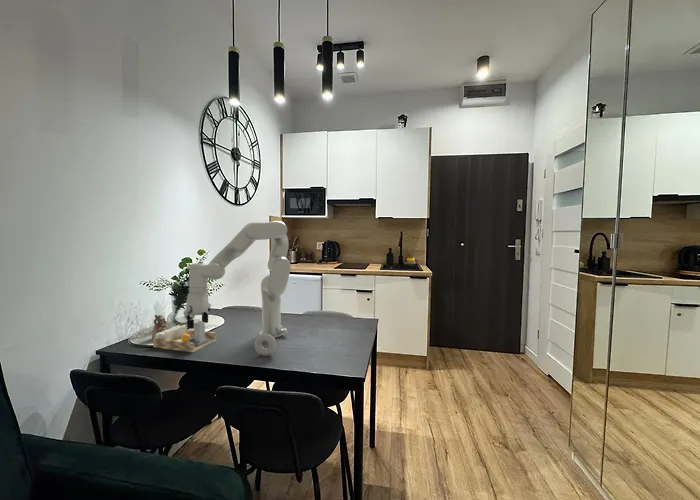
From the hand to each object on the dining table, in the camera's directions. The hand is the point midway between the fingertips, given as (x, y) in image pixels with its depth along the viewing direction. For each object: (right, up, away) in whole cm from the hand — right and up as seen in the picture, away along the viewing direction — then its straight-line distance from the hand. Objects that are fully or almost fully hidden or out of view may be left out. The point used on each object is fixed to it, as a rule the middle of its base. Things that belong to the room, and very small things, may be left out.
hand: (197, 325), depth 153 cm
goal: (-15, -8, +5) cm, 18 cm away
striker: (0, -9, +1) cm, 9 cm away
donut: (+35, -11, -10) cm, 38 cm away
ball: (-7, -7, +3) cm, 10 cm away
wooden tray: (-7, -10, +3) cm, 12 cm away
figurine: (-24, -9, +10) cm, 28 cm away
